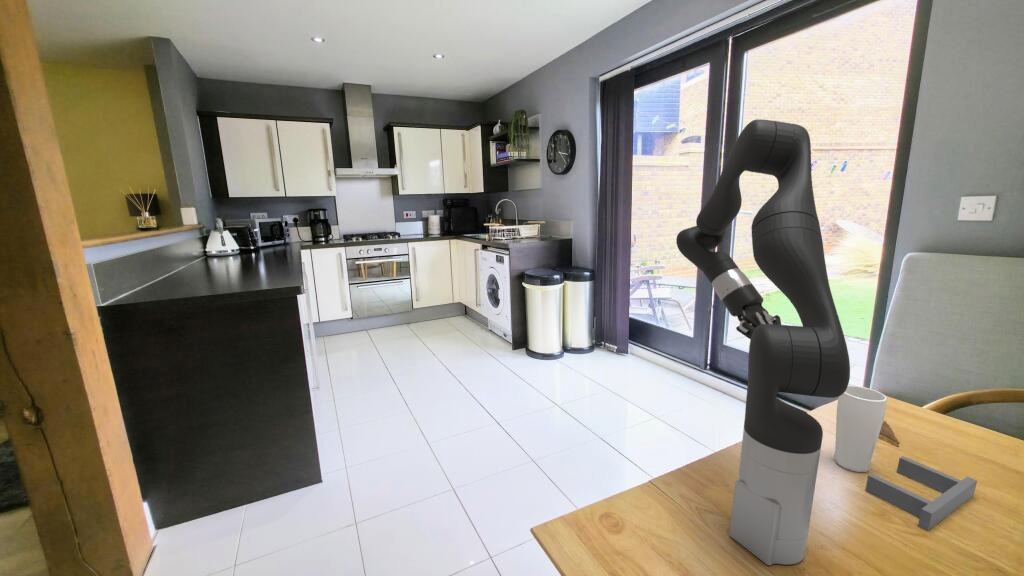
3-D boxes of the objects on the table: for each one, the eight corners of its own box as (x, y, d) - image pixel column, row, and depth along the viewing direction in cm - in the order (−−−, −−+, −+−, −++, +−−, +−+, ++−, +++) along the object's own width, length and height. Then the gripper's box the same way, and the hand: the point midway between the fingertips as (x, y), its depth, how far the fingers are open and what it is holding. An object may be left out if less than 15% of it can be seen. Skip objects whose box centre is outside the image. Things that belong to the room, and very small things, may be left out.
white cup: (875, 464, 79) (888, 392, 76) (873, 481, 74) (887, 404, 71) (831, 450, 83) (841, 381, 80) (826, 465, 78) (838, 393, 75)
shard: (898, 449, 84) (900, 442, 84) (851, 439, 88) (852, 432, 87) (885, 425, 93) (886, 418, 93) (843, 417, 97) (844, 410, 97)
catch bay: (928, 530, 62) (931, 513, 62) (858, 494, 70) (861, 479, 70) (973, 496, 70) (977, 480, 69) (905, 466, 78) (908, 452, 77)
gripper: (728, 285, 90) (778, 355, 82) (766, 280, 96) (816, 345, 88) (706, 304, 96) (750, 371, 88) (742, 297, 102) (787, 360, 93)
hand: (783, 357), depth 88 cm, fingers closed
